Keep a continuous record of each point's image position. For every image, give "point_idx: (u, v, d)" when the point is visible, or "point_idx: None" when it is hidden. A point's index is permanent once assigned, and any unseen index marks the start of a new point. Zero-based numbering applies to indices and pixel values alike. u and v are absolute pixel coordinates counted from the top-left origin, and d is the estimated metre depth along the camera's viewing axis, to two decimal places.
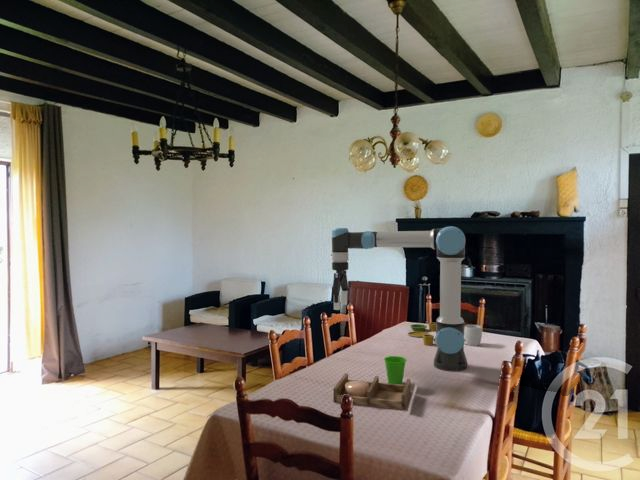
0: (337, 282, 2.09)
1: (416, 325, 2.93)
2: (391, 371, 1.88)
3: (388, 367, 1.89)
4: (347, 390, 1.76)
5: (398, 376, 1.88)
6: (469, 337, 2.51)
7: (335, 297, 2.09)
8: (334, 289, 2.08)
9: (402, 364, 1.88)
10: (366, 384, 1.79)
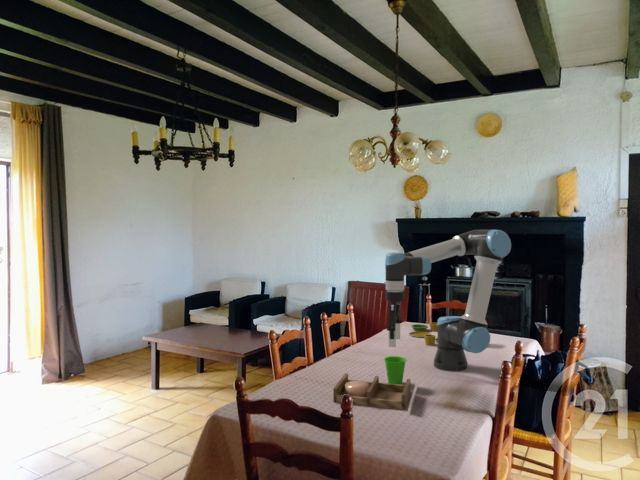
0: (393, 316, 1.82)
1: (417, 325, 2.93)
2: (391, 371, 1.88)
3: (388, 367, 1.89)
4: (347, 390, 1.76)
5: (398, 376, 1.88)
6: None
7: (391, 333, 1.82)
8: (390, 324, 1.81)
9: (402, 364, 1.88)
10: (366, 384, 1.79)
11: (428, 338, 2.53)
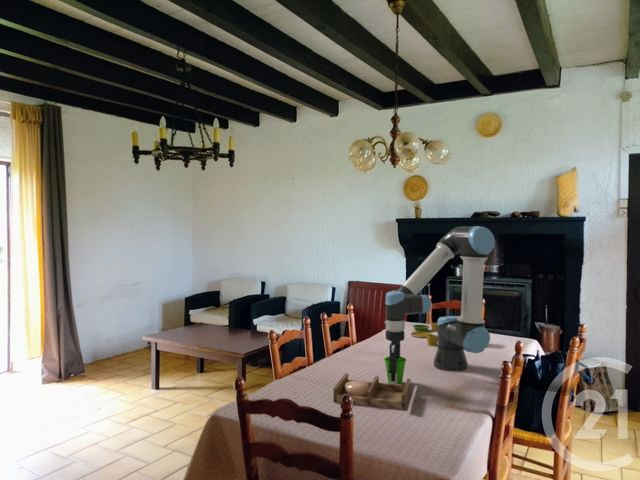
0: (394, 358, 1.84)
1: (418, 325, 2.92)
2: None
3: (388, 367, 1.89)
4: (347, 390, 1.76)
5: (398, 376, 1.88)
6: None
7: (392, 375, 1.85)
8: (391, 367, 1.83)
9: (402, 364, 1.88)
10: (366, 384, 1.79)
11: (430, 338, 2.52)
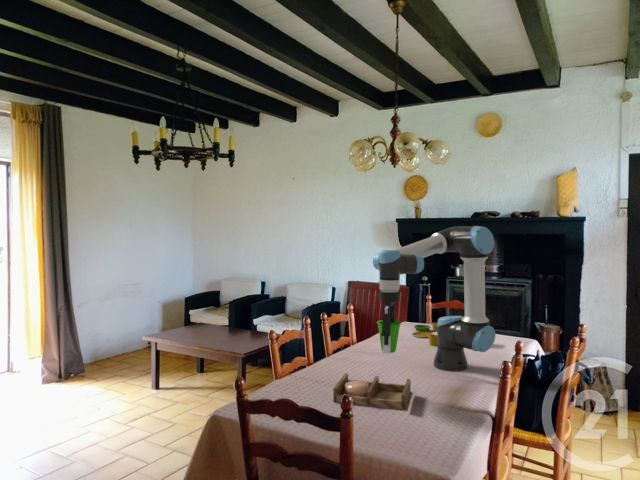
0: (387, 320, 1.70)
1: (419, 325, 2.92)
2: None
3: (381, 330, 1.75)
4: (347, 390, 1.76)
5: (391, 340, 1.74)
6: None
7: (385, 338, 1.71)
8: (384, 329, 1.70)
9: (396, 327, 1.74)
10: (366, 384, 1.79)
11: (432, 338, 2.52)
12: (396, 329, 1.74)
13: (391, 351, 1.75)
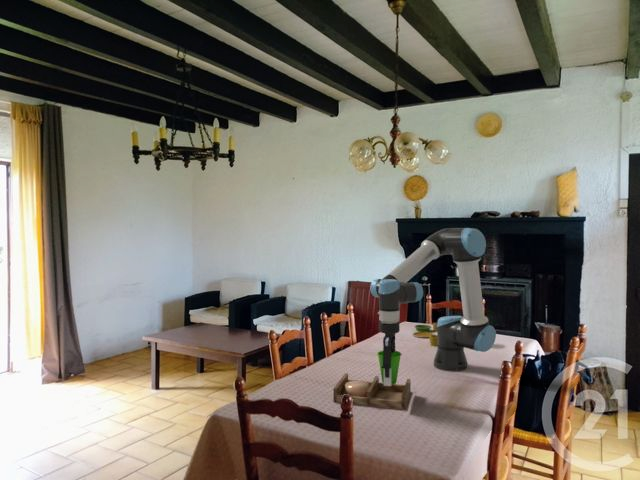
0: (388, 352, 1.67)
1: (420, 325, 2.92)
2: None
3: (381, 362, 1.72)
4: (347, 390, 1.76)
5: (392, 372, 1.71)
6: None
7: (386, 371, 1.68)
8: (385, 362, 1.67)
9: (397, 359, 1.71)
10: (366, 384, 1.79)
11: (433, 338, 2.52)
12: (397, 361, 1.71)
13: (392, 383, 1.72)
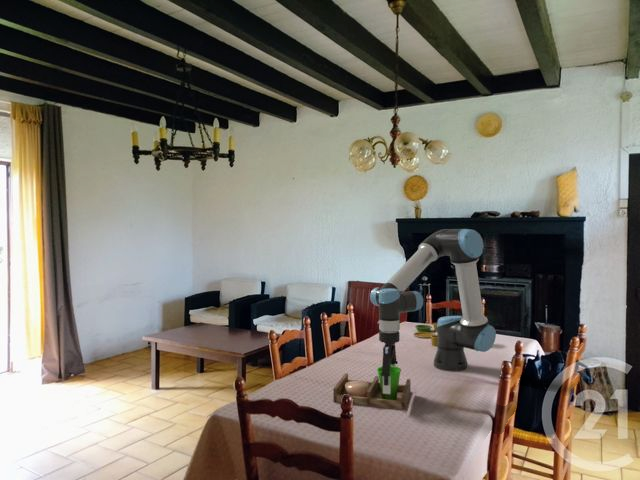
0: (388, 360, 1.67)
1: (421, 326, 2.91)
2: None
3: (381, 378, 1.72)
4: (347, 390, 1.76)
5: (392, 388, 1.71)
6: None
7: (385, 378, 1.67)
8: (384, 369, 1.65)
9: (396, 375, 1.71)
10: (366, 384, 1.79)
11: (435, 339, 2.51)
12: (396, 377, 1.71)
13: (392, 399, 1.72)
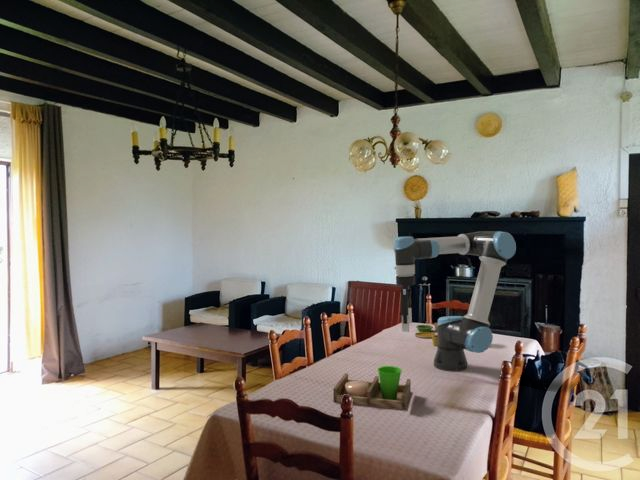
0: (406, 300, 1.81)
1: (422, 326, 2.91)
2: (384, 382, 1.71)
3: (381, 378, 1.72)
4: (347, 390, 1.76)
5: (392, 388, 1.71)
6: None
7: (404, 317, 1.81)
8: (403, 308, 1.80)
9: (397, 375, 1.71)
10: (366, 384, 1.79)
11: (436, 339, 2.51)
12: (397, 377, 1.71)
13: (392, 399, 1.72)
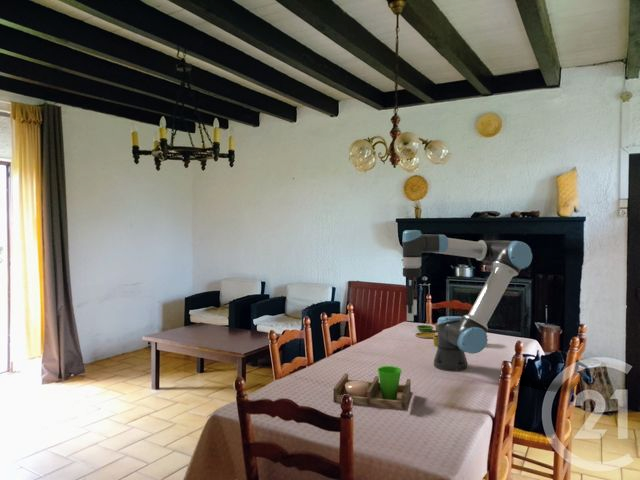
0: (411, 290, 1.88)
1: (422, 326, 2.91)
2: (384, 382, 1.71)
3: (381, 378, 1.72)
4: (347, 390, 1.76)
5: (392, 388, 1.71)
6: None
7: (409, 307, 1.88)
8: (408, 298, 1.87)
9: (397, 375, 1.71)
10: (366, 384, 1.79)
11: (437, 339, 2.51)
12: (397, 377, 1.71)
13: (392, 399, 1.72)
